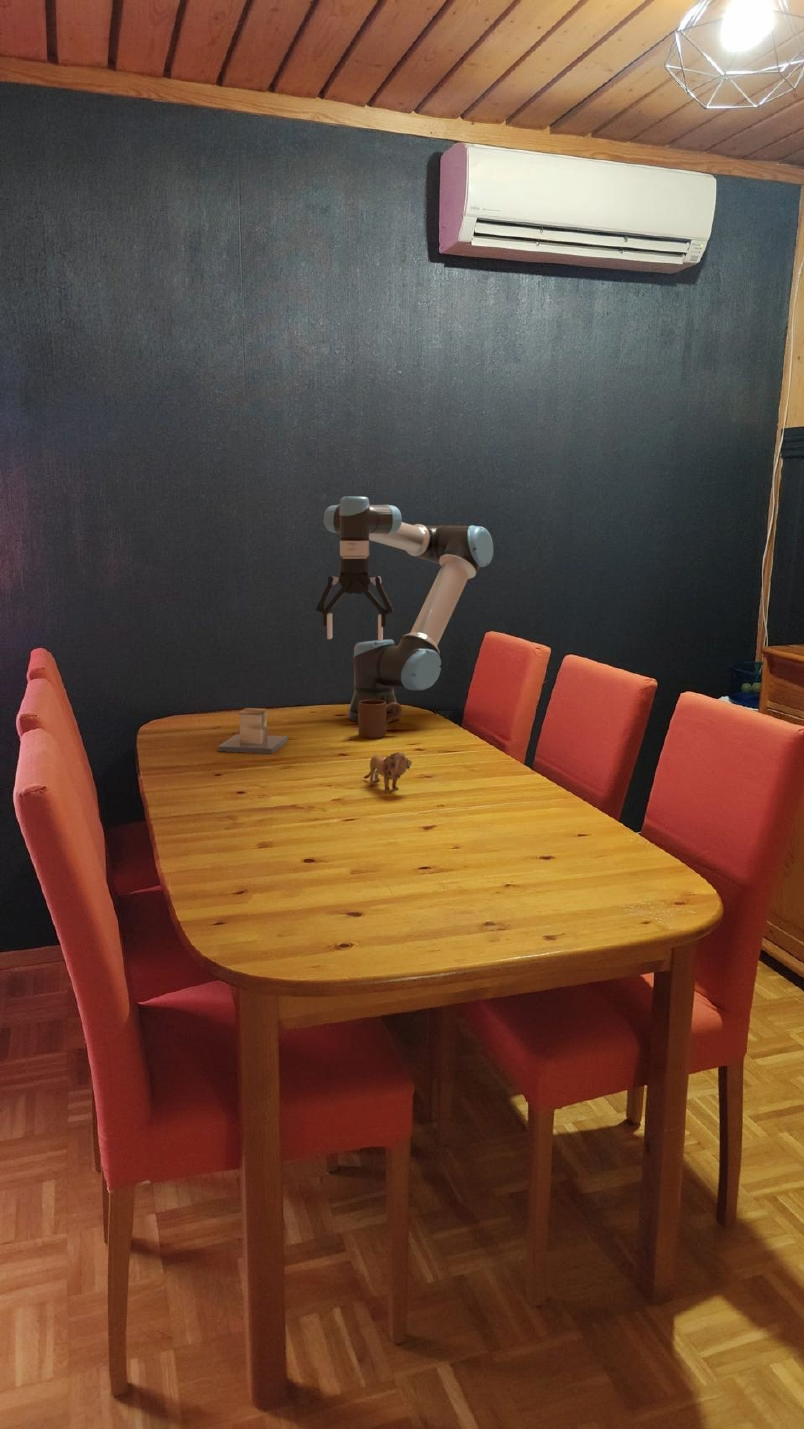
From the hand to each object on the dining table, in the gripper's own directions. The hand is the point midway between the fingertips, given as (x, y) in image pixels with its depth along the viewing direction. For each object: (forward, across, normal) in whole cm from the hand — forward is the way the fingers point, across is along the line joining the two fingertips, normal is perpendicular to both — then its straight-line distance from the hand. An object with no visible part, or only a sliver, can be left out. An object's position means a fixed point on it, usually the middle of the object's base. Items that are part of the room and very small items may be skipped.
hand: (355, 639), depth 253 cm
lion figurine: (+27, +17, -46) cm, 55 cm away
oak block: (+25, -24, -14) cm, 38 cm away
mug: (+27, +6, +4) cm, 28 cm away
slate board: (+27, -24, -14) cm, 39 cm away
